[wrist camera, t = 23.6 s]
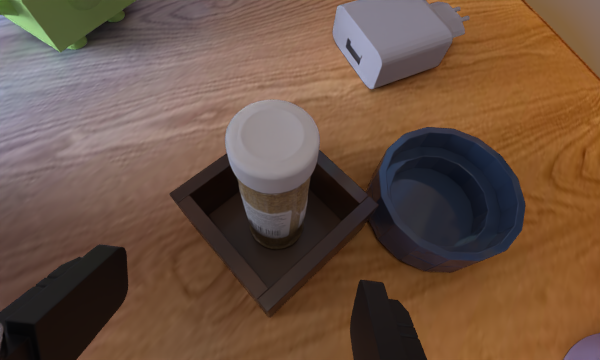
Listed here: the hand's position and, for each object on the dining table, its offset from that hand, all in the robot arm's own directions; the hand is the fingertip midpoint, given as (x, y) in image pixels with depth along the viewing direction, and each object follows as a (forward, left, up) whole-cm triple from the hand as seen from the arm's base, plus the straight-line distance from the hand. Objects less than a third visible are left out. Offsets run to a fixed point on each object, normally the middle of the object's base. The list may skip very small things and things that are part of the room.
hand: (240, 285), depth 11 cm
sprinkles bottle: (-5, +5, -15) cm, 16 cm away
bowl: (+3, +17, -15) cm, 23 cm away
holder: (-5, +6, -15) cm, 17 cm away
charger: (-11, +32, -16) cm, 37 cm away
